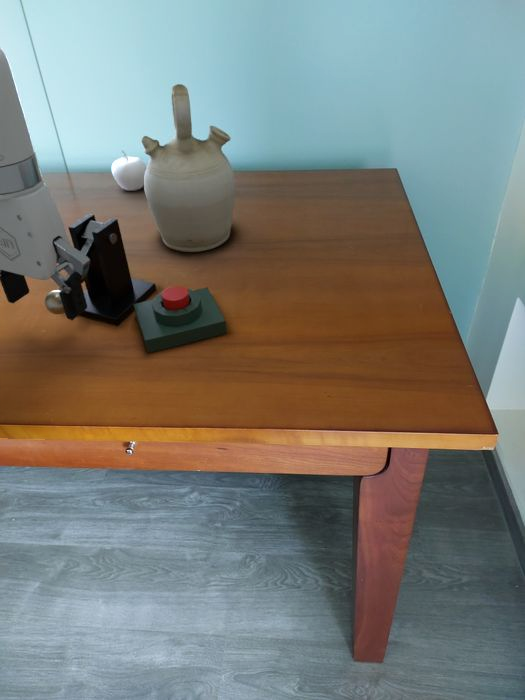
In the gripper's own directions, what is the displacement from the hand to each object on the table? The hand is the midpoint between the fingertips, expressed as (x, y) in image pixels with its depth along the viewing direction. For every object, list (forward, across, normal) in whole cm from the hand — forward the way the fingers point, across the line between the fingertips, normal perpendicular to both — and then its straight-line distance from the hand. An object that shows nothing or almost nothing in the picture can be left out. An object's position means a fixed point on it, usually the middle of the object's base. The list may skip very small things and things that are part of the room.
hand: (48, 305), depth 68 cm
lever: (-1, 0, +7) cm, 7 cm away
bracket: (+6, 0, +12) cm, 13 cm away
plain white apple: (+5, -23, +48) cm, 54 cm away
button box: (+6, +13, +10) cm, 17 cm away
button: (+3, +13, +10) cm, 16 cm away
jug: (+6, +1, +34) cm, 35 cm away
